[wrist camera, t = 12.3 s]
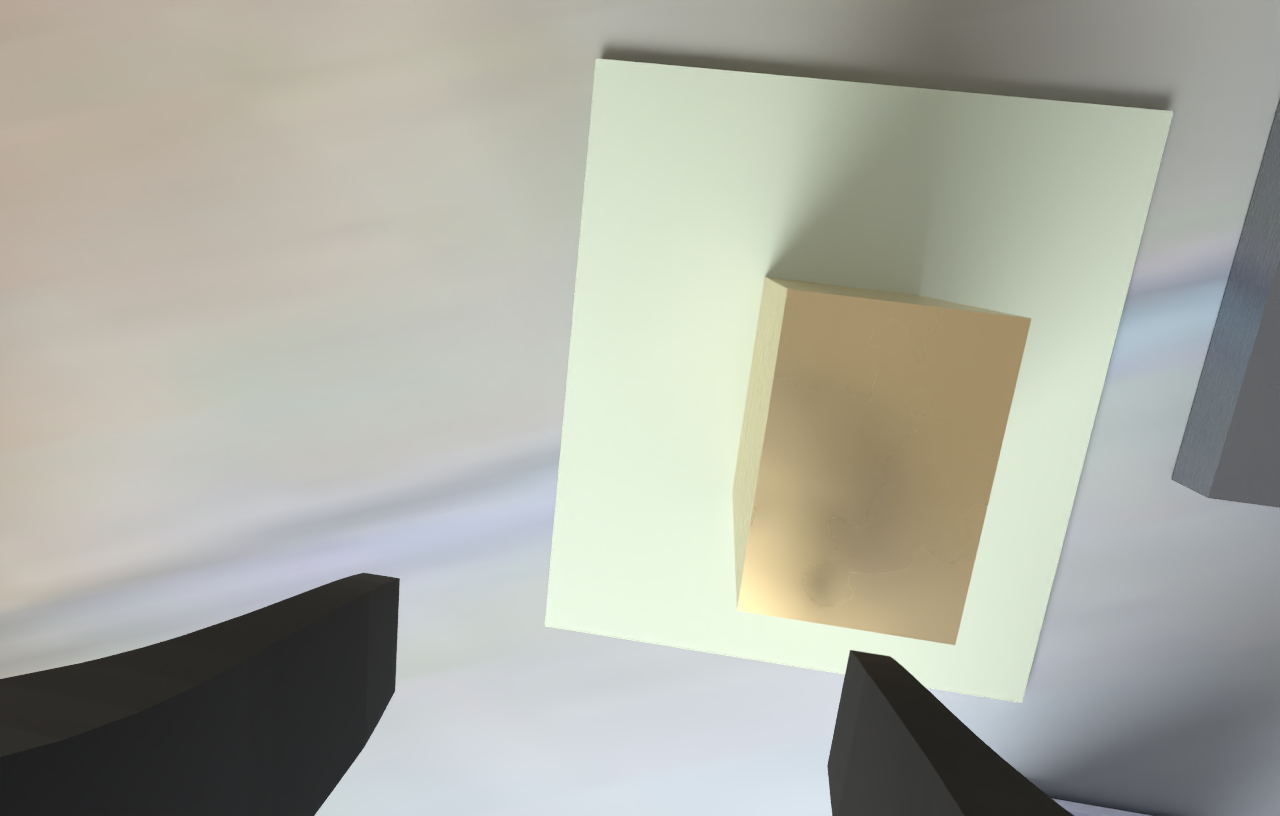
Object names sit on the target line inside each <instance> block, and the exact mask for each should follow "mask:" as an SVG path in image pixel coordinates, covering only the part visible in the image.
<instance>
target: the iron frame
mask: <svg viewBox="0 0 1280 816" xmlns="http://www.w3.org/2000/svg"><path fill="white" fill-rule="evenodd" d="M1172 480H1174V481H1176V482H1178V483H1180V484H1182V485H1184V486H1186V487H1188V488H1190V489H1192V490H1194V491H1196V492H1198V493H1200V494H1202V495H1204V496H1206V497H1208V498H1213V499H1221V500H1228V501H1236V502H1243V503H1250V504H1258V505H1265V506H1273V507H1280V102H1279V105H1278V109H1277V112H1276V116H1275V119H1274V123H1273V126H1272V130H1271V133H1270V137H1269V140H1268V144H1267V147H1266V151H1265V154H1264V158H1263V161H1262V165H1261V168H1260V172H1259V175H1258V179H1257V182H1256V186H1255V189H1254V193H1253V196H1252V200H1251V203H1250V207H1249V210H1248V214H1247V217H1246V221H1245V224H1244V228H1243V231H1242V235H1241V238H1240V242H1239V245H1238V249H1237V252H1236V256H1235V259H1234V263H1233V266H1232V270H1231V273H1230V277H1229V280H1228V284H1227V287H1226V291H1225V294H1224V298H1223V301H1222V305H1221V308H1220V312H1219V315H1218V319H1217V322H1216V326H1215V329H1214V333H1213V336H1212V340H1211V343H1210V347H1209V350H1208V354H1207V357H1206V361H1205V364H1204V368H1203V371H1202V375H1201V378H1200V382H1199V385H1198V389H1197V392H1196V396H1195V399H1194V403H1193V406H1192V410H1191V413H1190V417H1189V420H1188V424H1187V427H1186V431H1185V434H1184V438H1183V441H1182V445H1181V448H1180V452H1179V455H1178V459H1177V462H1176V466H1175V469H1174V473H1173V476H1172Z"/></svg>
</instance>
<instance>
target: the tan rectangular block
mask: <svg viewBox="0 0 1280 816" xmlns="http://www.w3.org/2000/svg"><path fill="white" fill-rule="evenodd" d="M1030 323H1031V318H1027V317H1023V316H1018V315H1013V314H1008V313H1003V312H998V311H993V310H989V309H984V308H979V307H974V306H969V305H964V304H959V303H955V302H950V301H945V300H940V299H935V298H930V297H925V296H921V295H913V294H905V293H896V292H888V291H880V290H871V289H863V288H854V287H846V286H838V285H829V284H821V283H813V282H804V281H796V280H788V279H779V278H771V277H765V278H764V284H763V291H762V298H761V304H760V311H759V318H758V324H757V331H756V338H755V344H754V351H753V357H752V364H751V371H750V377H749V384H748V391H747V397H746V404H745V411H744V417H743V424H742V431H741V437H740V444H739V451H738V457H737V464H736V471H735V477H734V484H733V491H732V496H733V522H734V548H735V574H736V601H737V611H743V612H750V613H756V614H762V615H768V616H775V617H781V618H787V619H794V620H800V621H806V622H812V623H819V624H825V625H831V626H838V627H844V628H850V629H856V630H863V631H869V632H875V633H881V634H888V635H894V636H900V637H907V638H913V639H919V640H925V641H932V642H938V643H944V644H951V645H955V644H956V640H957V636H958V632H959V627H960V623H961V619H962V614H963V610H964V606H965V602H966V597H967V593H968V589H969V584H970V580H971V576H972V572H973V567H974V563H975V559H976V554H977V550H978V546H979V542H980V537H981V533H982V529H983V524H984V520H985V516H986V512H987V507H988V503H989V499H990V494H991V490H992V486H993V481H994V477H995V473H996V469H997V464H998V460H999V456H1000V451H1001V447H1002V443H1003V439H1004V434H1005V430H1006V426H1007V421H1008V417H1009V413H1010V409H1011V404H1012V400H1013V396H1014V391H1015V387H1016V383H1017V379H1018V374H1019V370H1020V366H1021V361H1022V357H1023V353H1024V349H1025V344H1026V340H1027V336H1028V331H1029V327H1030Z"/></svg>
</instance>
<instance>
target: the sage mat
mask: <svg viewBox="0 0 1280 816" xmlns="http://www.w3.org/2000/svg"><path fill="white" fill-rule="evenodd" d="M1173 112H1174V111H1165V110H1154V109H1143V108H1132V107H1121V106H1110V105H1100V104H1089V103H1078V102H1067V101H1056V100H1045V99H1034V98H1023V97H1012V96H1001V95H991V94H980V93H969V92H958V91H947V90H936V89H925V88H914V87H903V86H892V85H882V84H871V83H860V82H849V81H838V80H827V79H816V78H805V77H794V76H783V75H773V74H762V73H751V72H740V71H729V70H718V69H707V68H696V67H685V66H674V65H664V64H653V63H642V62H631V61H620V60H609V59H598V58H596V62H595V74H594V85H593V96H592V107H591V118H590V129H589V140H588V151H587V162H586V173H585V184H584V195H583V207H582V218H581V229H580V240H579V251H578V262H577V273H576V284H575V295H574V306H573V317H572V328H571V340H570V351H569V362H568V373H567V384H566V395H565V406H564V417H563V428H562V439H561V450H560V461H559V473H558V484H557V495H556V506H555V517H554V528H553V539H552V550H551V561H550V572H549V583H548V594H547V606H546V617H545V626H547V627H553V628H559V629H565V630H571V631H578V632H584V633H590V634H596V635H602V636H609V637H615V638H621V639H627V640H633V641H640V642H646V643H652V644H658V645H664V646H670V647H677V648H683V649H689V650H695V651H701V652H708V653H714V654H720V655H726V656H732V657H739V658H745V659H751V660H757V661H763V662H770V663H776V664H782V665H788V666H794V667H801V668H807V669H813V670H819V671H825V672H831V673H838V674H844V675H845V673H846V668H847V663H848V658H849V652H850V650H854V651H860V652H867V653H873V654H879V655H885V656H891V657H892V658H893V659H895V660H896V661H897V662H898V663H899V664H901V665H902V666H903V667H904V668H905V669H906V670H907V671H908V672H909V673H911V674H912V675H913V676H914V677H915V678H916V679H917V680H918V681H919V682H920V683H921V684H922V685H923V686H924V687H925V688H931V689H937V690H943V691H949V692H955V693H962V694H968V695H974V696H980V697H986V698H993V699H999V700H1005V701H1011V702H1017V703H1022V701H1023V698H1024V694H1025V690H1026V686H1027V682H1028V678H1029V674H1030V670H1031V666H1032V662H1033V658H1034V655H1035V651H1036V647H1037V643H1038V639H1039V635H1040V631H1041V627H1042V623H1043V619H1044V616H1045V612H1046V608H1047V604H1048V600H1049V596H1050V592H1051V588H1052V584H1053V580H1054V577H1055V573H1056V569H1057V565H1058V561H1059V557H1060V553H1061V549H1062V545H1063V541H1064V538H1065V534H1066V530H1067V526H1068V522H1069V518H1070V514H1071V510H1072V506H1073V502H1074V498H1075V495H1076V491H1077V487H1078V483H1079V479H1080V475H1081V471H1082V467H1083V463H1084V459H1085V456H1086V452H1087V448H1088V444H1089V440H1090V436H1091V432H1092V428H1093V424H1094V420H1095V417H1096V413H1097V409H1098V405H1099V401H1100V397H1101V393H1102V389H1103V385H1104V381H1105V378H1106V374H1107V370H1108V366H1109V362H1110V358H1111V354H1112V350H1113V346H1114V342H1115V338H1116V335H1117V331H1118V327H1119V323H1120V319H1121V315H1122V311H1123V307H1124V303H1125V299H1126V296H1127V292H1128V288H1129V284H1130V280H1131V276H1132V272H1133V268H1134V264H1135V260H1136V257H1137V253H1138V249H1139V245H1140V241H1141V237H1142V233H1143V229H1144V225H1145V221H1146V217H1147V214H1148V210H1149V206H1150V202H1151V198H1152V194H1153V190H1154V186H1155V182H1156V178H1157V175H1158V171H1159V167H1160V163H1161V159H1162V155H1163V151H1164V147H1165V143H1166V139H1167V136H1168V132H1169V128H1170V124H1171V120H1172V116H1173ZM765 277H771V278H779V279H788V280H796V281H804V282H813V283H821V284H829V285H838V286H846V287H854V288H863V289H871V290H880V291H888V292H896V293H905V294H913V295H921V296H925V297H930V298H935V299H940V300H945V301H950V302H955V303H959V304H964V305H969V306H974V307H979V308H984V309H989V310H993V311H998V312H1003V313H1008V314H1013V315H1018V316H1023V317H1027V318H1031V323H1030V327H1029V331H1028V336H1027V340H1026V344H1025V349H1024V353H1023V357H1022V361H1021V366H1020V370H1019V374H1018V379H1017V383H1016V387H1015V391H1014V396H1013V400H1012V404H1011V409H1010V413H1009V417H1008V421H1007V426H1006V430H1005V434H1004V439H1003V443H1002V447H1001V451H1000V456H999V460H998V464H997V469H996V473H995V477H994V481H993V486H992V490H991V494H990V499H989V503H988V507H987V512H986V516H985V520H984V524H983V529H982V533H981V537H980V542H979V546H978V550H977V554H976V559H975V563H974V567H973V572H972V576H971V580H970V584H969V589H968V593H967V597H966V602H965V606H964V610H963V614H962V619H961V623H960V627H959V632H958V636H957V640H956V644H955V645H951V644H944V643H938V642H932V641H925V640H919V639H913V638H907V637H900V636H894V635H888V634H881V633H875V632H869V631H863V630H856V629H850V628H844V627H838V626H831V625H825V624H819V623H812V622H806V621H800V620H794V619H787V618H781V617H775V616H768V615H762V614H756V613H750V612H743V611H737V601H736V574H735V548H734V522H733V496H732V491H733V484H734V477H735V471H736V464H737V457H738V451H739V444H740V437H741V431H742V424H743V417H744V411H745V404H746V397H747V391H748V384H749V377H750V371H751V364H752V357H753V351H754V344H755V338H756V331H757V324H758V318H759V311H760V304H761V298H762V291H763V284H764V278H765Z"/></svg>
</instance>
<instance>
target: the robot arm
mask: <svg viewBox="0 0 1280 816" xmlns="http://www.w3.org/2000/svg"><path fill="white" fill-rule="evenodd" d="M399 580H400V579H399V578H393V577H387V576H380V575H374V574H368V573H361V574H357V575H353V576H350V577H346V578H343V579H340V580H337V581H334V582H331V583H329V584H326V585H323V586H320V587H318V588H315V589H312V590H310V591H307V592H304V593H302V594H299V595H296V596H294V597H291V598H288V599H286V600H283V601H280V602H278V603H275V604H272V605H270V606H267V607H264V608H262V609H259V610H256V611H254V612H251V613H248V614H245V615H242V616H239V617H236V618H233V619H231V620H228V621H225V622H222V623H219V624H216V625H213V626H210V627H207V628H204V629H201V630H198V631H195V632H192V633H189V634H186V635H183V636H180V637H177V638H174V639H170V640H167V641H164V642H160V643H157V644H153V645H150V646H146V647H143V648H139V649H136V650H132V651H128V652H124V653H120V654H116V655H112V656H108V657H105V658H101V659H97V660H92V661H88V662H84V663H79V664H74V665H69V666H64V667H59V668H54V669H49V670H44V671H39V672H34V673H29V674H24V675H19V676H14V677H9V678H4V679H0V816H314V815H315V814H316V812H317V811H318V810H319V808H320V807H321V806H322V804H323V803H324V802H325V800H326V799H327V798H328V796H329V795H330V794H331V792H332V791H333V789H334V788H335V787H336V785H337V784H338V783H339V781H340V780H341V778H342V777H343V776H344V774H345V773H346V772H347V770H348V769H349V767H350V766H351V765H352V763H353V762H354V761H355V759H356V758H357V756H358V755H359V754H360V752H361V751H362V749H363V748H364V746H365V745H366V743H367V741H368V740H369V738H370V736H371V734H372V733H373V731H374V729H375V727H376V726H377V724H378V722H379V720H380V718H381V716H382V715H383V713H384V711H385V709H386V707H387V705H388V703H389V701H390V699H391V697H392V696H393V694H394V692H395V678H396V653H397V629H398V605H399ZM828 775H829V786H830V797H831V806H832V815H833V816H1151V815H1145V814H1139V813H1134V812H1128V811H1122V810H1116V809H1110V808H1105V807H1099V806H1093V805H1087V804H1081V803H1075V802H1070V801H1064V800H1058V799H1052V798H1050V797H1049V796H1048V795H1046V794H1045V793H1044V792H1042V791H1041V790H1040V789H1039V788H1037V787H1036V786H1035V785H1034V784H1033V783H1031V782H1030V781H1029V780H1028V779H1027V778H1025V777H1024V776H1023V775H1022V774H1021V773H1019V772H1018V771H1017V770H1016V769H1014V768H1013V767H1012V766H1011V765H1010V764H1008V763H1007V762H1006V761H1005V760H1004V759H1002V758H1001V757H1000V756H999V755H998V754H997V753H996V752H994V751H993V750H992V749H991V748H990V747H989V746H988V745H986V744H985V743H984V742H983V741H982V740H981V739H980V738H979V737H978V736H976V735H975V734H974V733H973V732H972V731H971V730H970V729H969V728H968V727H967V726H966V725H964V724H963V723H962V722H961V721H960V720H959V719H958V718H957V717H956V716H955V715H954V714H953V713H952V712H951V711H949V710H948V709H947V708H946V707H945V706H944V705H943V704H942V703H941V702H940V701H939V700H938V699H937V698H936V697H935V696H934V695H933V694H932V693H931V692H929V691H928V690H927V689H926V688H925V687H924V686H923V685H922V684H921V683H920V682H919V681H918V680H917V679H916V678H915V677H914V676H913V675H912V674H911V673H909V672H908V671H907V670H906V669H905V668H904V667H903V666H902V665H901V664H899V663H898V662H897V661H896V660H895V659H893V658H892V657H891V656H885V655H879V654H873V653H867V652H860V651H854V650H850V652H849V658H848V663H847V668H846V673H845V678H844V683H843V689H842V694H841V699H840V704H839V709H838V714H837V719H836V725H835V730H834V735H833V740H832V745H831V750H830V756H829V761H828Z"/></svg>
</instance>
